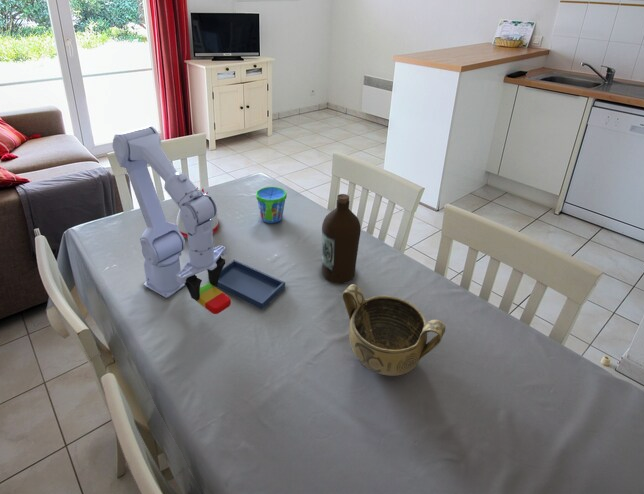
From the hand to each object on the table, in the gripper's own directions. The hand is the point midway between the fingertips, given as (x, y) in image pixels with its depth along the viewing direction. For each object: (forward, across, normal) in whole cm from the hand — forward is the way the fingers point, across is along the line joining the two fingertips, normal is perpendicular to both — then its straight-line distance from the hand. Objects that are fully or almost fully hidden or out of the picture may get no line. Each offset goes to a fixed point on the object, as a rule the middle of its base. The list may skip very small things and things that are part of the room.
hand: (204, 291), depth 106 cm
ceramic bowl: (+7, +12, -43) cm, 45 cm away
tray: (+7, +14, -2) cm, 15 cm away
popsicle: (+2, 0, 0) cm, 2 cm away
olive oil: (+7, +33, -20) cm, 39 cm away
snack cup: (+7, +47, +14) cm, 49 cm away
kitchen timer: (+7, +28, +31) cm, 42 cm away
